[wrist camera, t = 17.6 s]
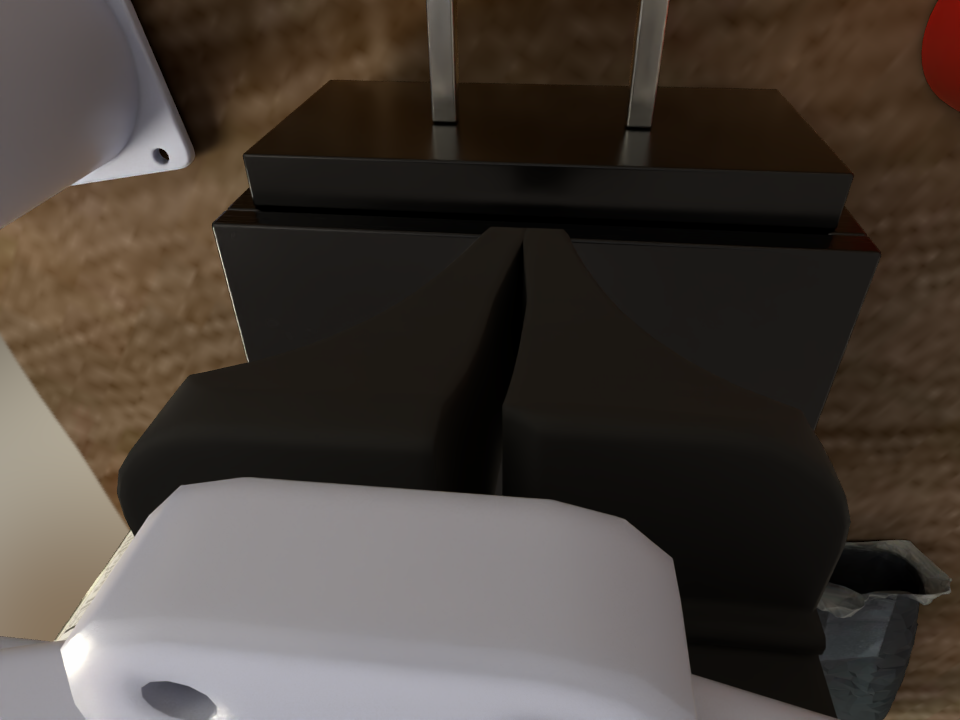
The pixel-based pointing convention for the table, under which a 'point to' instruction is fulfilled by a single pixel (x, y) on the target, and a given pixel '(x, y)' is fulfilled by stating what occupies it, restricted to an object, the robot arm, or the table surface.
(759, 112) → the drawer
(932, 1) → the table surface
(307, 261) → the cabinet
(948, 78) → the sauce bottle
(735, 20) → the table surface
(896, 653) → the black crumpled pouch
